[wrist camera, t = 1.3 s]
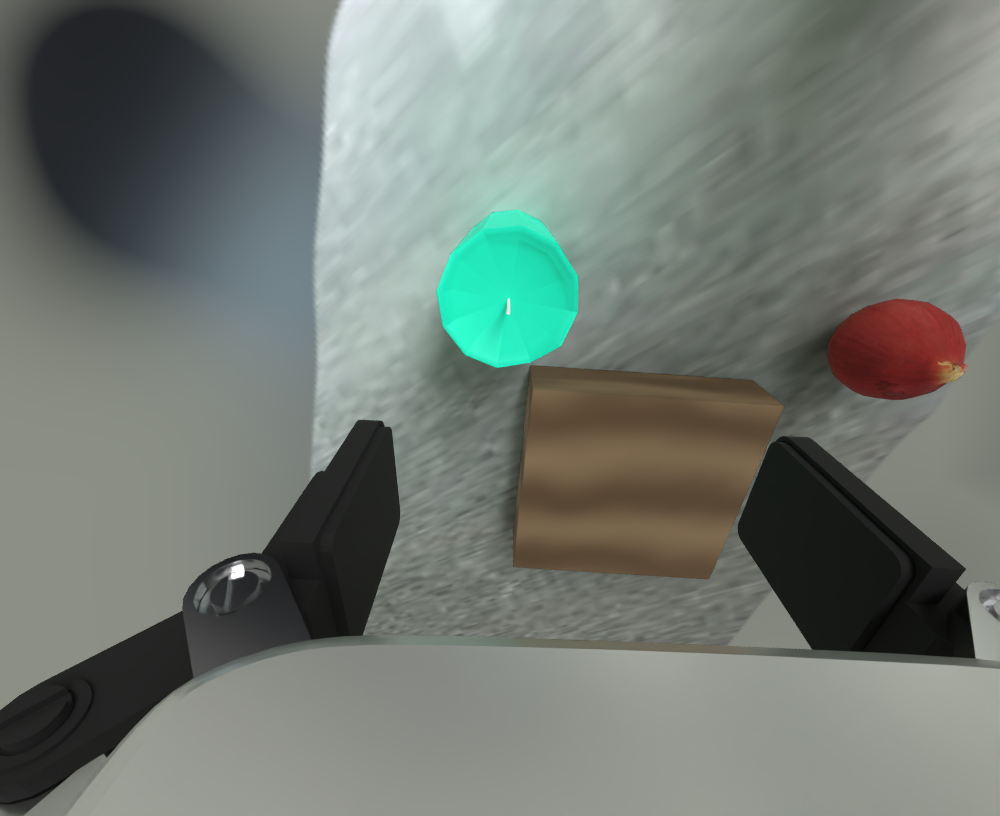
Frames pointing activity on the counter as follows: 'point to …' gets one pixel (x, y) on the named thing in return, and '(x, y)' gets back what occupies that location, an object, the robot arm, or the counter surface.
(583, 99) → the counter surface
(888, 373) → the onion
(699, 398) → the walnut base
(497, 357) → the candle
